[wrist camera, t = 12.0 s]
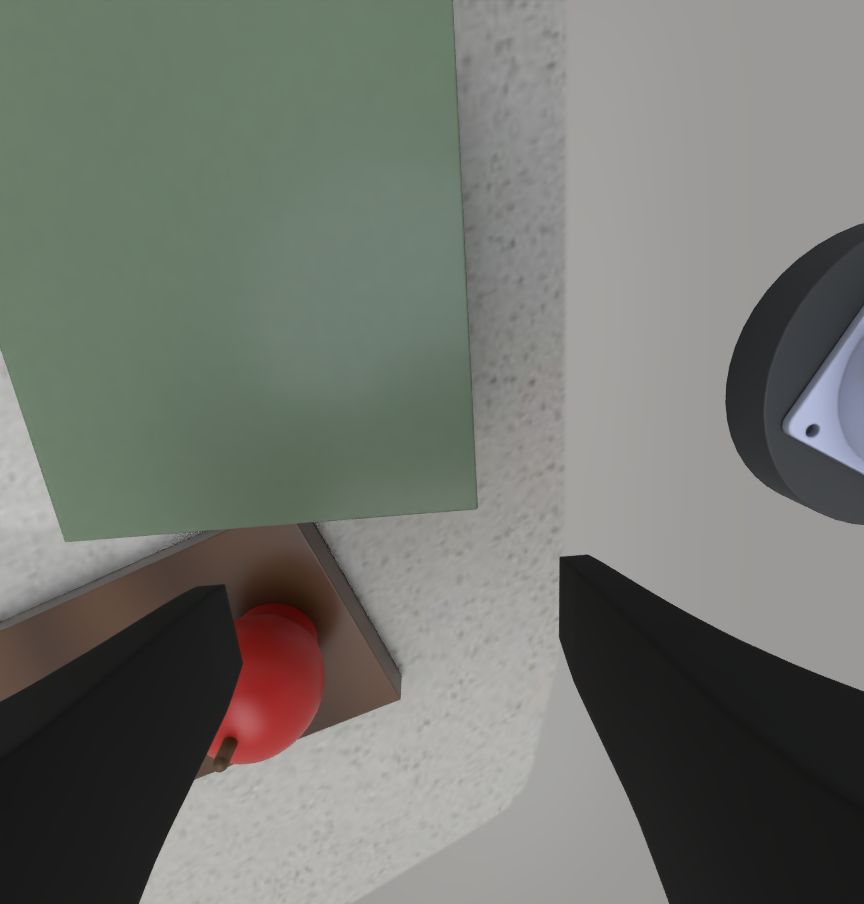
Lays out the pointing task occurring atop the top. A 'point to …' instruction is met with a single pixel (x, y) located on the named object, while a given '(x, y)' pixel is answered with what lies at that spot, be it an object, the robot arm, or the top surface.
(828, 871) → the robot arm
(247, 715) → the apple
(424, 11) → the cabinet
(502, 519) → the top surface
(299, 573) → the board
